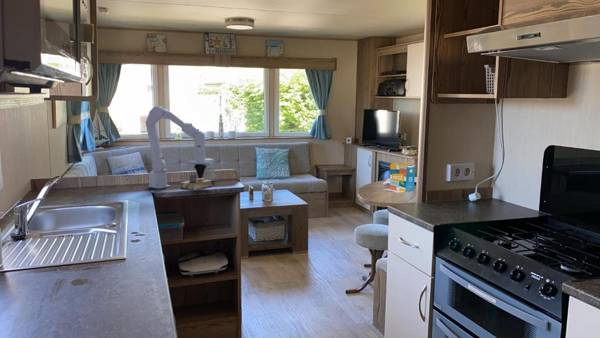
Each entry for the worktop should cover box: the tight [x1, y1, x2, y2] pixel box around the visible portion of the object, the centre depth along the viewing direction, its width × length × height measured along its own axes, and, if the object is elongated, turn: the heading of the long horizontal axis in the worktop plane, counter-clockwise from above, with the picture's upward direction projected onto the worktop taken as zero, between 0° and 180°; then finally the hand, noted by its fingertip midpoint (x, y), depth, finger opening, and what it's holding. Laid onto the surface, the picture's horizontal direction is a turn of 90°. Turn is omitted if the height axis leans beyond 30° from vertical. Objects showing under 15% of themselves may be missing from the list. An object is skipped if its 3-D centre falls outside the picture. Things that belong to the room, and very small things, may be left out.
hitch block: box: [180, 180, 213, 191], centre depth 261 cm, size 10×13×3 cm
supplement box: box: [203, 157, 216, 182], centre depth 279 cm, size 7×7×13 cm
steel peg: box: [189, 173, 197, 183], centre depth 259 cm, size 4×4×7 cm
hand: (200, 177), depth 264 cm, fingers closed
